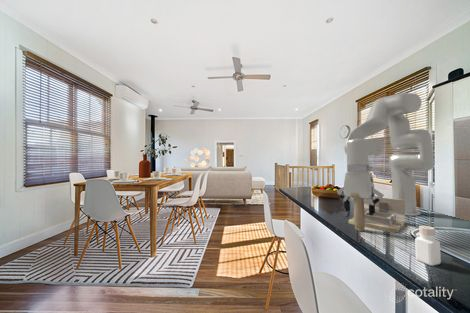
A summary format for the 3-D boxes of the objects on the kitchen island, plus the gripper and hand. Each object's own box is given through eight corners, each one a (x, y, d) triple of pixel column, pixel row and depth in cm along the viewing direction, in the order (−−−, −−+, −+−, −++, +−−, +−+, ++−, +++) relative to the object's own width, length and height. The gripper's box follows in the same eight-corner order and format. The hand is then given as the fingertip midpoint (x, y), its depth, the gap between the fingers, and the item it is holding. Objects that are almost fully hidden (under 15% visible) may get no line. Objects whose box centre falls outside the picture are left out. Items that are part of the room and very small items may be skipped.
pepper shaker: (431, 266, 54) (430, 230, 55) (414, 260, 58) (413, 225, 59) (442, 264, 56) (440, 228, 56) (425, 257, 59) (423, 224, 60)
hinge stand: (361, 216, 103) (360, 195, 103) (405, 224, 90) (404, 199, 90) (348, 223, 92) (347, 199, 92) (395, 233, 79) (394, 205, 80)
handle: (369, 233, 80) (368, 194, 80) (350, 230, 83) (349, 193, 83) (368, 229, 84) (367, 192, 84) (350, 227, 87) (349, 191, 87)
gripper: (386, 169, 80) (387, 215, 79) (339, 168, 93) (340, 208, 93) (380, 170, 75) (382, 219, 74) (331, 169, 88) (333, 210, 88)
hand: (359, 212), depth 84 cm, fingers open, 8 cm apart
